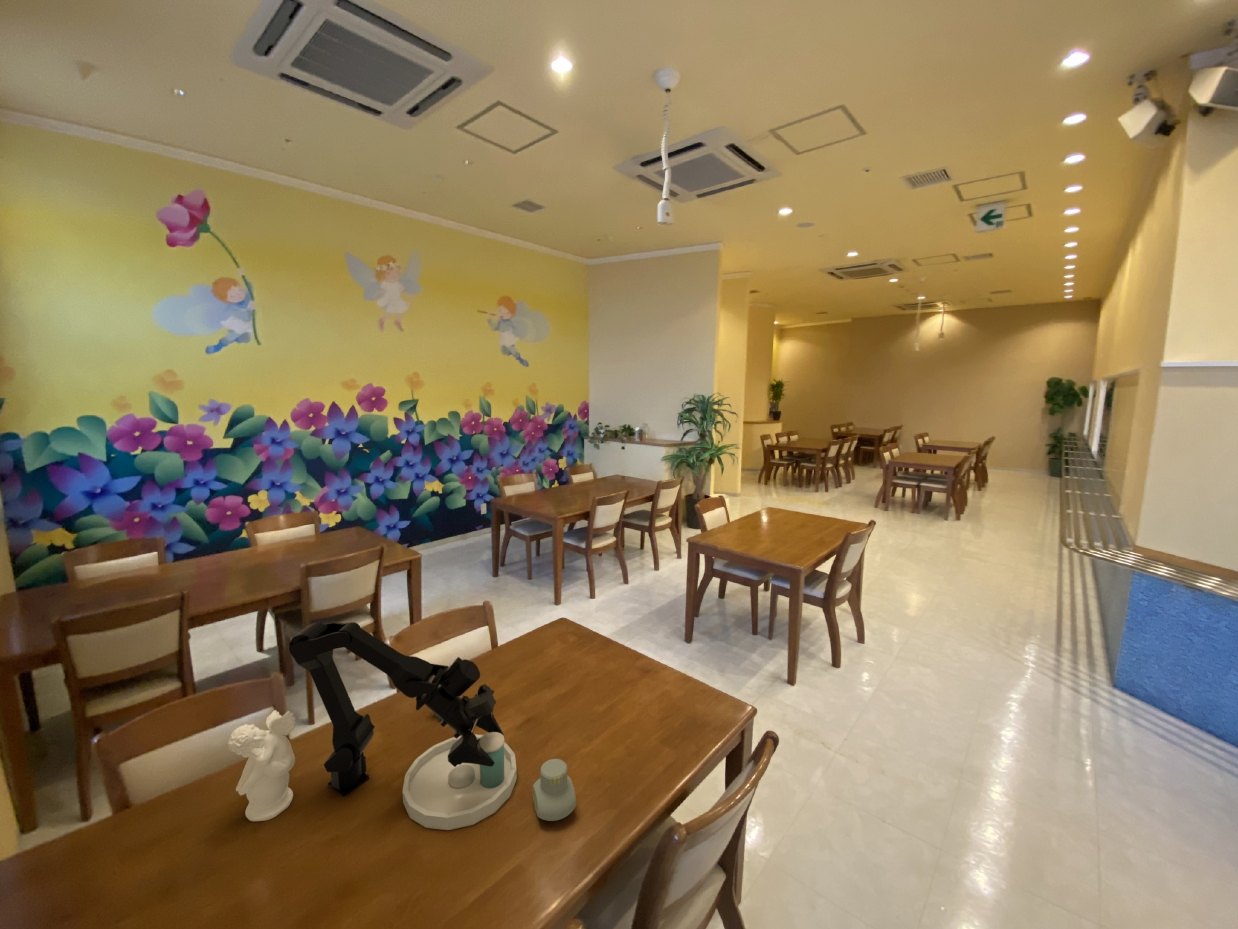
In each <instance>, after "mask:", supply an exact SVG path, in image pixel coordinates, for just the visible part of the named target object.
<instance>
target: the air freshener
mask: <svg viewBox="0 0 1238 929" xmlns="http://www.w3.org/2000/svg"><path fill="white" fill-rule="evenodd" d="M531 790H532V791H531V792H532V800H533V806H534V809H535V813H536V816H537V817H538V818H539V819H541V820H542V821H543V820H544V821H549V822H556V821H559V820H563V819H564V818H566V817H568V816H569V815H570V814H572V813H573V811H574V810H575V808H576V807H577V797H576V791H575V788H574V784H573V781H572V779H571V777H570V776H569V775H568V765H567V763H566V762H565V761H564V760H562V759H560V758H551V759H547V761H544V762H543V763H542V765H541V767H540V778H538V779H537V780H536V781H535V782H534V783H533V784H532V789H531Z"/></svg>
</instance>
